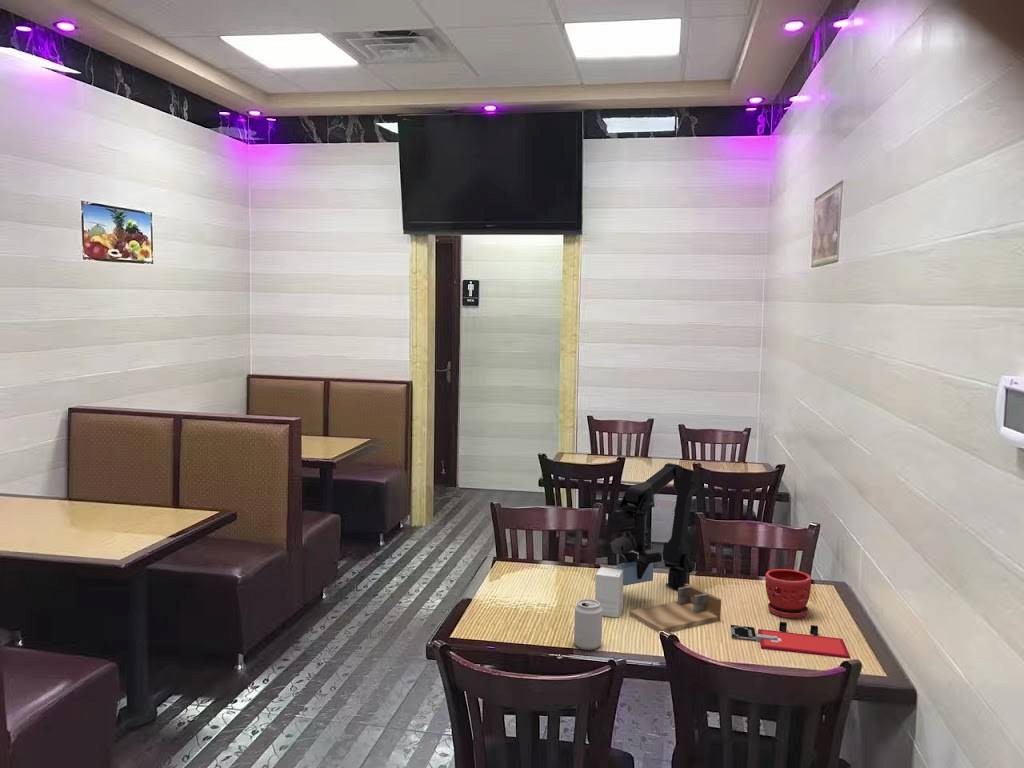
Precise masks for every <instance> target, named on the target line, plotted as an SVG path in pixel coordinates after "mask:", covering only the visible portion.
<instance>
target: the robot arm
mask: <svg viewBox="0 0 1024 768" xmlns="http://www.w3.org/2000/svg"><path fill="white" fill-rule="evenodd" d="M701 478H702V477H701V474H700V473H699V472H698V470H696V469H695V470H694V469H690V468H685V467H684V466H681V465H680V464H678V463H677V464H676V463H672V462H671V463H670V462H668V463H665V464H664V466H663V467H662V468H661V469H660V470H658V471H657V472H656V473H655V474H653V475H652V476H651V477H649V478H648V479H647V480H645V481H643V482H641V483H639V482H638V483H635V484H633V485H631V486H628V488H627V489H626V490H625V491H624V495H623V497H622V499H621V501H620V503H619V505H618V507H617V510H613V514H612V515H611V516H609V518H608V520H607V526H608V528H609V530H610V531H611V533H613V534H617V535H618V534H621V533H623V534H622V536H620V537H616V538H613V539H612V541H611V542H610V547H611V549H612V553H613V554H616V555H617V556H622V557H623V558H624V563H629V562H636V563H637V577H638V579H641V578H642V576H643V574H644V573H645V571H646V569H647V567H648V566H649V564H650V563H655V564H656V563H659V562H660V563H661V562H662V559H663V563H664V567H666V568H668V574H667V583H665V586H667V587H668V588H670V589H673V590H674V591H677V592H678V588H680V587H684V584H689V585H690V580H691V579H690V574H691V573H693V571H694V572H695V568H696V563H695V562H694V561H693V559H692V557H691V547H690V546H689V543H688V541H687V539H688V531H689V530H688V529H689V524H690V523H689V522H690V516H691V509H692V502H693V501H692V500H693V498H694V495H695V494H696V493H697V491H698V490H699V488H700V483H701V480H702V479H701ZM670 482H673V484H672V485H673V488H674V491H675V493H676V500H675V506H674V513H673V515H674V516H673V522H672V530H671V536H670V539H669V540H668V541H667V542H666V541H665V542H664V544H663V548H662V549H663V550H662V553H661V552H660V551H657V550H655V549H652V548H651V549H648V548H649V544H647V543H646V540H647V539H646V538H647V537H646V536H649V534H650V532H649V531H648V530H647V514H649V513H651V512H652V510H651V509H650V508H649V507H648V506H650V504H651V503H652V502H653V501H654V497H655V495H656V494H657V493H658V492H660V490H662V489H664V488H665V487H666V486H667V485H668V484H669V483H670Z"/></svg>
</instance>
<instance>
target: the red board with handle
mask: <svg viewBox="0 0 1024 768" xmlns="http://www.w3.org/2000/svg"><path fill="white" fill-rule="evenodd" d="M778 627H779V628H778V629H779V630H770V629H763V628H759V629H758V630H757V633H756V630H755V627H753V626H743V625H737V624H730V631H731V637H732V638H739V639H746V640H755V641H756V642H757V643H760V644H759V645H760V648H761V650H767V651H768V650H769V651H775V652H776V651H778V652H786V653H794V654H795V653H796V654H806V655H815V656H825V657H834V658H843V659H851V655H850V653H849V650H848V648H847V646H846V643H845V642H844V641H845V640H844V639H843V638H841V637H839V638H838V637H831V636H830V637H829V636H821V635H818V634H819V626H818V625H814V624H813V625H812V624H810V629H809V630H810V631H809V632H810V634H807V633H806V634H803V633H798V632H797V633H795V632H788V631H787V627H788V622H786V621H779V626H778Z"/></svg>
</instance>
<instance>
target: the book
mask: <svg viewBox="0 0 1024 768" xmlns="http://www.w3.org/2000/svg"><path fill="white" fill-rule="evenodd" d="M616 569H621V570H623V587H625V586H631V585H635V584H636V585H637V584H640V583H641V584H642V583H647V582H651V581H653V580H654V563H650V564H649V566H648V567H647V569H646V571H645V573H644V574H643V576H642V578H641V579H638V577H637V563H636V562H629V563H626V562H623V563H617V565H616Z"/></svg>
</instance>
